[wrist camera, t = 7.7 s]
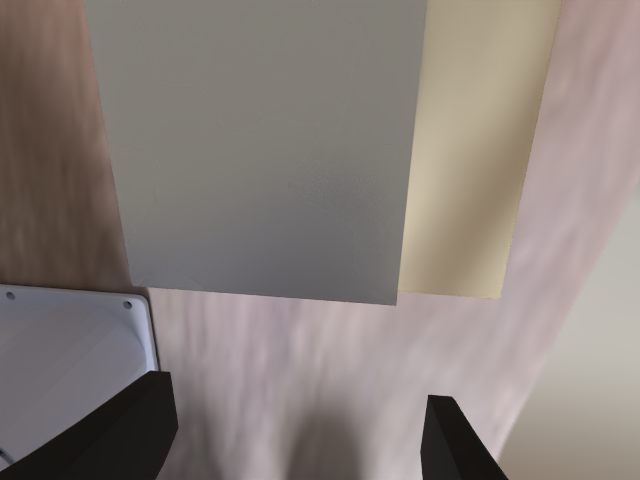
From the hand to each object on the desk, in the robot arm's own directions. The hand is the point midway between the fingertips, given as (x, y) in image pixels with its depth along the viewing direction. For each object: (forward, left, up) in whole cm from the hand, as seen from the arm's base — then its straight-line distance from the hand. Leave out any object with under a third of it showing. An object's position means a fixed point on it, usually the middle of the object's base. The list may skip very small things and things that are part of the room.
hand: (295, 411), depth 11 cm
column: (0, +7, -5) cm, 9 cm away
